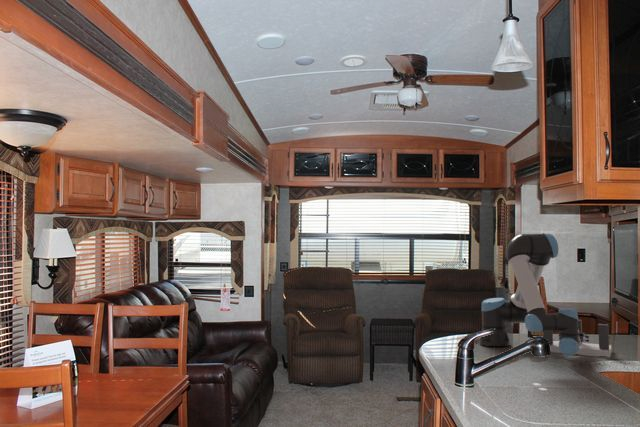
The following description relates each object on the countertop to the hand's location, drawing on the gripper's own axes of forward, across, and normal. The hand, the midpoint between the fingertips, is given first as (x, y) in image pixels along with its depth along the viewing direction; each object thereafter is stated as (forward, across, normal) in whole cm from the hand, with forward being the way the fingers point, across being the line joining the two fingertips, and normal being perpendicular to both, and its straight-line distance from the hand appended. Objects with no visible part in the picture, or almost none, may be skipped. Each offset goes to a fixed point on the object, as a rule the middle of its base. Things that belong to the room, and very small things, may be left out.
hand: (577, 331), depth 262 cm
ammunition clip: (+24, -22, -9) cm, 34 cm away
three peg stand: (-3, 0, -9) cm, 9 cm away
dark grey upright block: (+1, 0, -5) cm, 6 cm away
